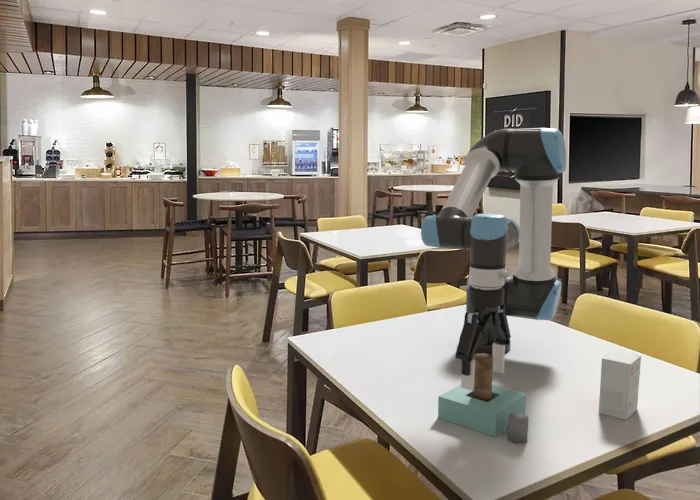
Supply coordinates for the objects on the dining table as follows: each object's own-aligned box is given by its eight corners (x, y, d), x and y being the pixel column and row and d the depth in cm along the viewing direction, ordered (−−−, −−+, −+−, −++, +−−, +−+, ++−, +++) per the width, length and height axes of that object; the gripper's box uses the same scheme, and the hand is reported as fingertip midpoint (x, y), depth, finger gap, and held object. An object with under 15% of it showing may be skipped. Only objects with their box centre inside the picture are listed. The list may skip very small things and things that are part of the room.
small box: (609, 402, 147) (613, 349, 145) (637, 409, 143) (642, 354, 141) (597, 413, 141) (601, 357, 139) (626, 420, 137) (631, 364, 135)
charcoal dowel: (503, 439, 128) (504, 416, 127) (512, 433, 131) (513, 410, 130) (522, 445, 126) (523, 422, 125) (530, 438, 129) (532, 415, 128)
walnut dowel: (469, 416, 139) (471, 356, 137) (477, 411, 142) (480, 352, 140) (485, 421, 137) (487, 360, 134) (493, 415, 140) (496, 355, 137)
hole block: (438, 417, 139) (438, 396, 138) (470, 398, 149) (470, 378, 148) (495, 436, 130) (496, 413, 129) (525, 415, 140) (526, 393, 139)
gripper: (472, 299, 123) (469, 401, 126) (528, 279, 141) (524, 368, 145) (440, 293, 128) (437, 391, 131) (498, 274, 146) (494, 361, 150)
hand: (483, 380), depth 138 cm, fingers open, 13 cm apart
